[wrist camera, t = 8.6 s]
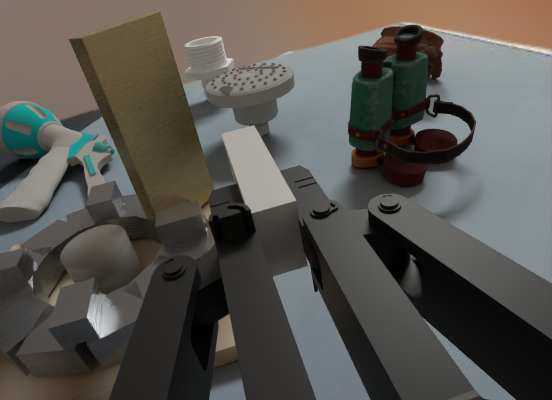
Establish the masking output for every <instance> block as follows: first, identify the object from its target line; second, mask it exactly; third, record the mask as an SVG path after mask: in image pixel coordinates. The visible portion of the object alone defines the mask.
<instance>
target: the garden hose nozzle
mask: <svg viewBox="0 0 552 400" xmlns="http://www.w3.org/2000/svg"><path fill="white" fill-rule="evenodd" d="M107 144H108V142H107V140H106V137H105V136H99V135H98V134H96V135H95V136H93V135H89V134H85V133H81V132H77V131H73V130H70V129H67V128H64V127H63V126H62V124H61V122H60V121H59V119H58V118H57V117H55V116H54V115H53V114H52V113H51V112H50V111H48V110H47V109H44V108H42V107H41V106H39V105H37V104H35V103H31V102H25V101H15V102H10V103H8V104H6V105H4V106H3V107H1V108H0V149H1V150H3V151H4V152H5V153H7V154H9V155H12V156H15V157H17V158H21V159H30V158H31V159H39V158H41V159H40V160H39V161H38V164H37V165H36V166H34V167H33V168H32V169H31V171H30V172H29V175H28V176H27V178H25V179H24V180H23V181H21V182H20V183H19V184H18V185H17V186H16V187H15V190H14V192H13V193H12V194H10V195H9V196H8V197H7V198H6V199H5V200H4V201H3V202H2V203H1V204H0V220H1V221H4V222H8V223H11V222H18V221H26V220H34V219H37V218H38V217H39V216H40V215H41V213H42V212H43V211H44V210H45V209H46V208H47V206H48V204H49V203H50V201H51V199H52V195H53V193H54V191H55V189H56V188H57V186H58V184H59V183H60V181H61V179H62V177H63V176H64V174H65V172H66V170H67V168H68V165H69V164H70V166H74V165H77V164H81V165H82V166H83V167H84V172H85V179H86V182H87V186H88V196H89V193H90V189H91V187H93V186H97V185H101V184H104V183H105V180H104V178H103V176H102V175H101V173H100V170H101V168H102V167H103V166H104V165H106V164H107V163H109V162H111V161H112V160H113V159H112V157H111V155H113V154H114V150H113V148H112V147H111V146H109V145H107Z"/></svg>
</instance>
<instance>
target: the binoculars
mask: <svg viewBox="0 0 552 400" xmlns="http://www.w3.org/2000/svg"><path fill="white" fill-rule="evenodd" d="M422 32H423V29H422V27H421V26H418V25H407V26H404V27H402V28H400V29H398V30H397V31H396V32H395V35H394V42H395V44H397V52H396V54H395V55H392V56H389V57H387V50H385V49H382V48H377V47H370V46H359V47H358V57H359V60H360V61H362V63H361V71H360V72H358V73H357V74H356V75H355V76H354V78H353V83H352V95H351V110H350V121H349V123H348V133H349V143H350V145H352V146H353V147H356V148H355V149H354V150H353V151H352V165H353V166H355V167H371V166H376V165H379V166H381V167H382V168H381V169H382V173H383V174H384V176H385V177H386V178H387V179H388V180H390V181H392V182H394V183H396V184H399V185H404V186H414V185H417V184H420V183H421V182H422V181H423V178H424V175H425V172H426V169H427V164H429V163H433V164H438V163H445V162H448V161H450V160H451V159H452V158H454V157H457V156H459V155H460V154H461V153H462V152H463V151H465V150H466V149H467V148H468V146H469V145H470V143H471V142H472V138H473V134H474V130H475V125H476V121H475V119H474V117H473V115H472V113H471V112H469V111H468V110H466V109H465V108H464V107H462V106H459V105H456V104H453V102H443V101H440V95H438V94H437V95H430V96H428V97H427V98H426V87H427V73H428V56H427V55H426V54H423V53H419V52H417V44H419V43H420V42H421V38H422ZM386 57H387V58H386ZM431 97H437V100H435V101H434V107H433V112H434V113H435V115H434V114H432V113H430V112H429V111H428V109H429V107H430V98H431ZM424 110H425V111H426V113H427V114H428V115H430V116H432V117H434V118H435V117H436V116H437V115H438V113H442V114H451V115H454V116H457V117H459V118H460V119H462V120H463V121H465V122H466V123H467V124H468V125H469V127H470V130H471V133H470V135H469V136H468V137H467V138H466V139H465V140H464V141H463V142H461V143H460V144H458V145H457V139H456V137H455V136H454V135H453V134H452V133H450V132H448V131H445V130H440V129H425V130H421V131H419V132H418V133H417V134H416V136H415V134H414V131H413V129H411V125H412V124H414V123H416V122H418V121H420V120H421V119H422V118H423V115H424ZM407 144H412V145H414V151H408V150H405V149H403V148H400V147H398V146H400V145H407ZM384 152H386V154H385V156H384Z"/></svg>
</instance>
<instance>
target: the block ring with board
mask: <svg viewBox="0 0 552 400" xmlns="http://www.w3.org/2000/svg"><path fill="white" fill-rule="evenodd" d="M69 40H70V43H71V45H72V47H73V50H74V52H75V54H76V57H77V59H78V61H79V63H80V66H81V68H82V70H83V73H84V75H85V77H86V79H87V82H88V84H89V86H90V88H91V91H92V93H93V95H94V98H95V100H96V102H97V105H98V107H99V109H100V112H101V114H102V116H103V118H104V121H105V123H106V125H107V128H108V130H109V132H110V135H111V137H112V139H113V141H114V144H115V146H116V148H117V151H118V153H119V155H120V157H121V160H122V162H123V164H124V167H125V169H126V171H127V174H128V176H129V178H130V180H131V183H132V185H133V187H134V190H135V192H136V194H135V195H128V196H122V195H121V192H120V190H119V188H118V186H117V184H116V182H115V181H112V182H108V183H104V184H101V185H97V186H93V187H91V189H90V193H89V196H88V199H87V202H86V206H85V207H86V208H84V209H81V210H79V211H76V212H74V213H71V214H69V215H67V221H68V223H67V222H64V221H61V220H57V221H55V222H54V223H52V224H51V225H49V226H48V227H46V228H45V229H43V230H42V231H41V232H39V233H38V234H36V235H35V236H33V237H32V238H30V239H29V240H27V241H26V242H24V243H23V244H21V245H20V247H21V248H20V249H16V250H13V251H9V252H5V253H2V254H0V356H1V357H2V358H3V359H5V360H6V361H7V362H9V363H10V364H11V365H13V366H14V367H15V368H17V369H18V370H19V371H21V372H22V373H23V374H25V375H26V376H27V375H28V374H29V373H30V372H31V373H32V374H33V375H34V377H35V378H40V377H52V376H63V375H75V374H86V373H92V370H93V368H94V366H95V364H96V361H97V360H98V362H99V363H100V365H101V366H102V368H103V369H105V368H107V367H109V366H111V365H113V364H114V363H116V362H118V361H120V360H122V359H123V357H124V354H125V352H126V349H127V346H128V343H129V340H130V337H131V334H132V331H133V329H134V326H135V323H136V320H137V317H138V314H139V311H140V309H141V306H142V303H143V300H144V297H145V294H146V291H147V289H148V286H149V283H150V280H151V277H152V274H153V272H154V271H155V269H156V267H157V266H158V265H160V264H161V263H162V262H163V261H165V260H167V259H169V258H171V257H174V256H178V255H187V256H190V257H192V258H193V259H194V260H196V259H198V258H199V257H201V256H203V255H204V254H206V253H207V252H208V251H209V250H210V249H211V248H212V247H213V245H214V244H215V241H214V238H213V235H212V232H211V229H210V226H209V223H208V219H207V218H206V217H205V215H204V214H203V212H202V209H201V206H202V205H203V204H204V203H205V202H207V201H208V198H209V196H210V194H211V192H212V190H214V187H213V184H212V181H211V177H210V174H209V171H208V167H207V164H206V161H205V158H204V154H203V151H202V148H201V144H200V141H199V138H198V134H197V131H196V128H195V125H194V121H193V118H192V115H191V111H190V108H189V105H188V101H187V98H186V95H185V92H184V88H183V85H182V82H181V79H180V75H179V72H178V68H177V65H176V62H175V59H174V55H173V52H172V49H171V46H170V42H169V39H168V36H167V32H166V29H165V26H164V22H163V19H162V16H161V12H153V13H146V14H143V15H140V16H137V17H134V18H131V19H128V20H125V21H122V22H119V23H116V24H113V25H110V26H107V27H104V28H100V29H97V30H94V31H92V32H88V33H85V34H82V35H79V36H76V37H73V38H71V39H69ZM102 225H118V226H121V227H122V228H123V229H124V230H125V232H126V234H127V236H128V238H129V239H134V238H142V237H146V238H149V239H152V240H155V241H158V242H162V243H161V246H160V248H159V251H158V254H157V256H156V259H155V260H154V261H153V262H152V263H151V264H150V265H149V266H148V267H147V268H145V269H144V270H143V271H142V272H141V273H140V274H139V275H138V276H137V277H136V278H135V279H133V280H132V281H131V282H130V283H129V284H128V285H126V286H124V287H121V288H119V289H117V290H115V291H113V292H111V293H109V294H107V295H105V294H104V292H103V290H102V289H101V287H100V285H99V284H98V282H97V280H96V279H95V278H92V279H89V280H85V281H82V282H78V283H75V284H71V285H68V286H64V287H61V288H60V291H59V294H58V298H57V301H56V304H55V306H52V305H51V304H49V300H48V296H49V294H50V293H51V291H52V289H53V288H54V286H55V285H56V283H57V282H58V280H59V279H60V277H61V276H62V274H63V273H64V272H65V271H66V268H65V267H64V265H63V264H62V262H61V259H60V256H61V252H62V250H63V249H64V247H65V246H66V245H67V244H68V243H69V242H70V241H71V240H72V239H73V238H75V237H76V236H78V235H79V234H81V233H83V232H85V231H87V230H89V229H92V228H94V227H98V226H102Z"/></svg>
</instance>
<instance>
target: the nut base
mask: <svg viewBox="0 0 552 400" xmlns="http://www.w3.org/2000/svg"><path fill="white" fill-rule="evenodd" d="M201 209H202V212H203V214H204V215H205V217H206V218H207V219H209V216H210V215H211V211H210V206H209V201H207V202H205V203H204V204H203V205H202V206H201ZM161 243H162V242H158V241H155V240H152V239H149V238H146V237H142V238H134V239H129V238H128V236H127V234H126V232H125V230H124V229H123V228H122V227H121V226H118V225H102V226H98V227H94V228H92V229H89V230H87V231H85V232H83V233H81V234H79V235H78V236H76V237H75V238H73V239H72V240H71V241H70V242H69V243H68V244H67V245H66V246H65V247H64V249H63V250H62V252H61V256H60V259H61V262H62V264H63V265H64V267H65V268H66V271H65V272H64V273H63V274H62V276H61V277H60V279H59V280H58V282H57V283H56V285H55V286H54V288H53V289H52V291H51V293H50V294H49V296H48V300H49V304H51V305H52V306H55V304H56V301H57V298H58V294H59V291H60V288H61V287H64V286H68V285H71V284H75V283H78V282H82V281H85V280H89V279H92V278H95V279H96V280H97V282H98V284H99V285H100V287H101V289H102V290H103V292H104V294H105V295H107V294H109V293H111V292H113V291H115V290H117V289H119V288H121V287H124V286H126V285H128V284H129V283H130V282H131V281H132V280H133V279H135V278H136V277H137V276H138V275H139V274H140V273H141V272H142V271H143V270H144V269H145V268H147V267H148V266H149V265H150V264H151V263H152V262H153V261H154V260H155V259H156V256H157V254H158V251H159V248H160V246H161ZM22 244H23V243H22ZM20 245H21V244H18V245H14V246H12V248H11V250H10V251H13V250H16V249H20V248H21V247H20ZM218 323H219V329H218V336H217V344H216V351H215V359H214V366H213V368H215V367H218V366H221V365H224V364H227V363H230V362H233V361H237V360H238V356H237V351H236V346H235V341H234V336H233V331H232V325H231V320H230V315H229V314H228V315H227V316H225V317H224V318H222V319H220V320H219V321H218ZM122 360H123V359H122ZM122 360H120V361H118V362H116V363H114V364H113V365H111V366H109V367H107V368H105V369H103V368H102V366H101V365H100V363H99V362H98V360H97V361H96V364H95V366H94V368H93V370H92V373H86V374H75V375H63V376H52V377H40V378H35V377H34V375H33V374H32V373H31V372H30V373H29V374H28V375H27V376H26V375H25V374H23V373H22V372H21V371H19V370H18V369H17V368H15V367H14V366H13V365H11V364H10V363H9V362H7V361H6V360H5V359H3V358H2V357H1V356H0V400H109V397H110V394H111V392H112V389H113V386H114V383H115V380H116V377H117V374H118V372H119V369H120V366H121V363H122Z"/></svg>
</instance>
